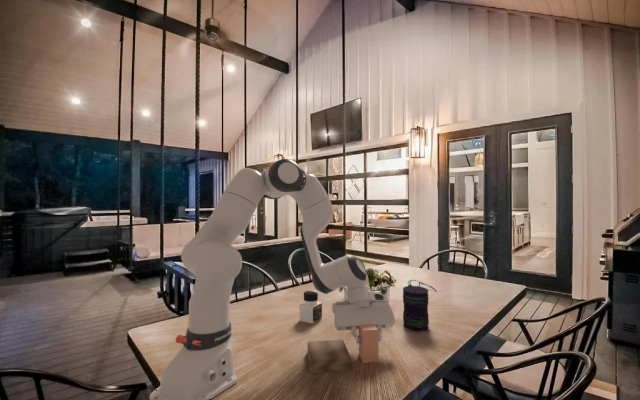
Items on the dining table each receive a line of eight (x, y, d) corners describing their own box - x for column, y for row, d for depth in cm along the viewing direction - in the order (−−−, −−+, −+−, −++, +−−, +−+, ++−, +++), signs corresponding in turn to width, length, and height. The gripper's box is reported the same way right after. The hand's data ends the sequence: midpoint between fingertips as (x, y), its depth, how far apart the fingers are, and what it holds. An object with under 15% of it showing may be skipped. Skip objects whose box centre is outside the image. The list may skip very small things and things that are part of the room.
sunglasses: (415, 286, 175) (415, 278, 174) (439, 294, 164) (439, 285, 163) (402, 290, 165) (403, 282, 165) (426, 299, 154) (427, 290, 154)
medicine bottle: (313, 324, 118) (313, 295, 119) (299, 320, 122) (299, 292, 122) (322, 318, 124) (322, 290, 125) (308, 315, 128) (308, 288, 128)
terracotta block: (378, 361, 90) (378, 329, 90) (362, 362, 89) (362, 330, 90) (373, 353, 95) (373, 323, 95) (358, 354, 94) (358, 323, 95)
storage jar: (405, 320, 123) (405, 284, 123) (430, 324, 118) (429, 287, 119) (401, 329, 114) (400, 291, 114) (427, 333, 109) (427, 294, 110)
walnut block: (310, 374, 84) (310, 361, 84) (307, 353, 96) (307, 341, 96) (351, 371, 85) (351, 358, 86) (343, 351, 97) (342, 339, 97)
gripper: (332, 297, 98) (337, 340, 88) (390, 295, 101) (401, 336, 91) (330, 306, 103) (335, 347, 93) (385, 303, 105) (396, 343, 95)
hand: (368, 342), depth 92 cm, fingers closed on terracotta block, 5 cm apart
